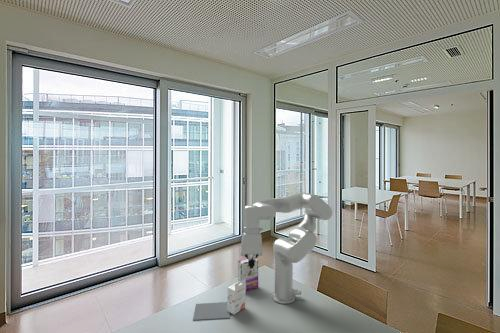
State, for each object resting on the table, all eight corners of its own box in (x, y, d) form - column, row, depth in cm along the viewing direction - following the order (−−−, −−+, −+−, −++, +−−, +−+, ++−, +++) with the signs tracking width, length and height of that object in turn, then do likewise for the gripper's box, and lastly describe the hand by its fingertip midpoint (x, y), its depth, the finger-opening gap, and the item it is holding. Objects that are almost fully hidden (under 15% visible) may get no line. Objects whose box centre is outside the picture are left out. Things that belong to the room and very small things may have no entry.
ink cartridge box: (237, 303, 131) (239, 275, 130) (245, 307, 127) (246, 278, 127) (226, 311, 124) (227, 281, 123) (233, 315, 121) (235, 284, 120)
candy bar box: (254, 284, 152) (254, 256, 151) (258, 287, 147) (258, 259, 147) (237, 288, 146) (237, 260, 146) (241, 292, 142) (241, 263, 142)
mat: (229, 302, 132) (229, 301, 132) (230, 318, 119) (230, 317, 119) (195, 304, 130) (195, 303, 130) (192, 320, 117) (192, 319, 117)
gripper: (265, 228, 130) (265, 263, 130) (236, 228, 128) (235, 264, 129) (268, 232, 122) (267, 270, 123) (237, 232, 121) (236, 271, 121)
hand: (251, 267), depth 126 cm, fingers closed
